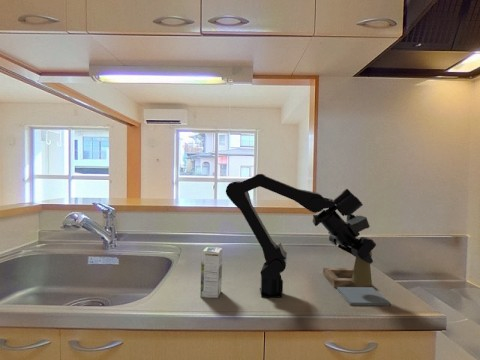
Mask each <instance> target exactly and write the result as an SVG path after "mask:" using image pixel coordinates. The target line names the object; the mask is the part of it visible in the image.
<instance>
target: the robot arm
mask: <svg viewBox="0 0 480 360" xmlns="http://www.w3.org/2000/svg"><path fill="white" fill-rule="evenodd" d="M257 188H263V189H265V190H268V191H271V192H273V193H276V194H278V195H280V196H283V197H285V198H287V199H289V200H293V201H294V202H296V203H297V204H298V205H300V206H301V207H303V208H305V209H307V210H308V211H310V212H311V213H316V214H312V223H313V225H314V226H315V227H317V226H318V225H320V224H321V225H322V226H323V227H324V229H326V230H327V231H328V232H327V233H328V235H329V236H328V241H329V242H330V244H332V245H334V246H337V248H339V249H341V250H343V251H344V252H347V253H348V254H351V255H352V256H353V257H355V258H356V257H357V258H360V259H362V260H364V261H366V262H368V263H370V265H371V264H372V263H374V260H373V258H372V257H371V255H370V252H372V251H373V249H374V248H375V247H376V246H377V243H376V242H375V241H374V240H373V238H369V237H367V236H361V237H360V238H357V237H359V236H360V234H361V233H360V232H361V231H364V230H366V229H369V228H370V227H371V225H370V223H369V221H368V218H367V217H366V216H364V215H354V213H355V212H356V211H357V210H359V209H360V208H361V207H362V206H363V205H364V204H363V203H362V201H361V200H360V199H359V198H358V197H357V196H355V195H354V194H353V193H352V192H351V191H350V190H349V189H348V188H345V189H344V190H343V191H342V192H341V193H340V194H339V195H338V196H337V197H335V198H334V199H333V198H327V197H324V196H323V195H322V194H321V193H318V192H315V191H311V190H306V189H300V188H297V187H294V186H291V185H290V184H287V183H284V182H282V181H279V180H276V179H274V178H271V177H269V176H267V175H265V174H264V173H258V174H256V175H254V176H252V177H250V178H247V179H245V180H243V181H237V180H236V181H231V182H229V183H228V184H227V186H226V189H225V194H226V197H227V198H228V199H229V200H230V201H231V202H232V203H233V204H234V206H236V207H237V209H239V210H240V212H241V214H242V215H243V217H244V220H245V221H246V223H247V224H248V226H249V227H250V230H251V232H252V233H253V234H254V236H255V238H256V240H257V242H258V244H259V245H260V247H261V249H262V253H263V257H264V259H265V262H264V263H263V264H262V267H261V270H260V287H259V292H260V297H261V298H282V296H283V295H282V294H283V292H284V291H283V290H284V288H283V287H284V286H283V285H284V280H283V278H282V275H281V273H283V272H284V271H285V269H286V267H287V261H288V257H287V254H288V252H286V250H285V249H284V247H283V245H282V243H281V242H280V243H278V244H277V243H276V242H275V241H274V240H273V239H272V237H271V235H270V234H269V233H270V232H268V230H267V229H266V226H265V225H264V223H263V221H262V219H261V217H260V216H259V213H258V212H257V211H256V208H255V207H254V205H253V203H252V199H251V196H250V193H249V192H250V191H251V190H254V189H257ZM337 211H338V212H339V213H340V214H339V213H338V212H337ZM340 215H342V216H343V217H344V216H345V217H346V220H344V218H342V216H340Z"/></svg>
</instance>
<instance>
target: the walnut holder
mask: <svg viewBox="0 0 480 360" xmlns="http://www.w3.org/2000/svg"><path fill="white" fill-rule="evenodd" d="M322 269H323V270H322V275H323V276H324V278H326V280H327V281H328V282H329V283H330V285H331V286H332V287H333V288H336V289H337V287H373V284H371V285H369V286H362V285H358V284H355V283H353V282H352V281H351V280H352V275H353V270H354V267H352V268H351V267H344V268H343V267H323V268H322ZM347 277H349V278H347Z"/></svg>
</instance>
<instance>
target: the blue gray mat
mask: <svg viewBox="0 0 480 360" xmlns="http://www.w3.org/2000/svg"><path fill="white" fill-rule="evenodd" d="M336 290H337V291H338V293H340V294H341V296H342V297H343V298H344V299H345V300H346V302H348V304H349V305H350V306H387V307H388V306H391V302H390V301H389V300H388V299H386V298H385V297H384V296H383V295H382V294H381V293H380V292H378V291H377V290H376V289H375V288H374V287H373V286H372V287H337V288H336Z"/></svg>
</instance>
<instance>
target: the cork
mask: <svg viewBox="0 0 480 360" xmlns="http://www.w3.org/2000/svg"><path fill="white" fill-rule="evenodd" d="M370 255H371V258H372V256H373V253H372V251H371V252H370ZM353 268H354V270H353V275H352V277H351V278H352V280H351V281H352V282H353V283H355V284H358V285H362V286H369V285H371V284H372V283H373V280H372V270H371V264H370V263H368V262H366V261H364V260H362V259H360V258H357V257H355V260H354V266H353ZM372 285H373V284H372Z"/></svg>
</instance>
